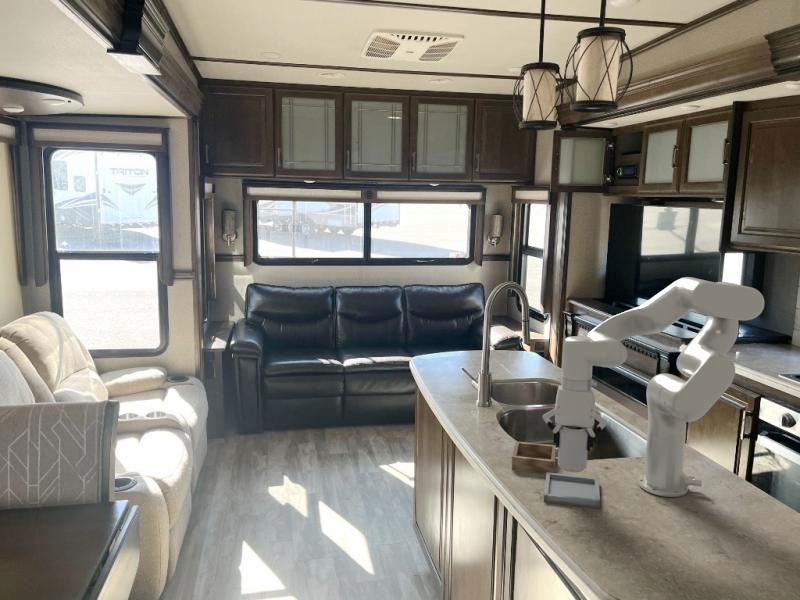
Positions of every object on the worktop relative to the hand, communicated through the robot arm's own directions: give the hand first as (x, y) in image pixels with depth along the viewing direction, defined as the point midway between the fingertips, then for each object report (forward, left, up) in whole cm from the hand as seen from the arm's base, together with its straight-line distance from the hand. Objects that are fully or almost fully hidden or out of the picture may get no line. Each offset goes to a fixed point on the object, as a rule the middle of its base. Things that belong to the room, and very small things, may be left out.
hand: (572, 447), depth 165 cm
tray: (0, 0, -13) cm, 13 cm away
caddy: (+11, -16, -13) cm, 23 cm away
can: (0, 0, -6) cm, 6 cm away
